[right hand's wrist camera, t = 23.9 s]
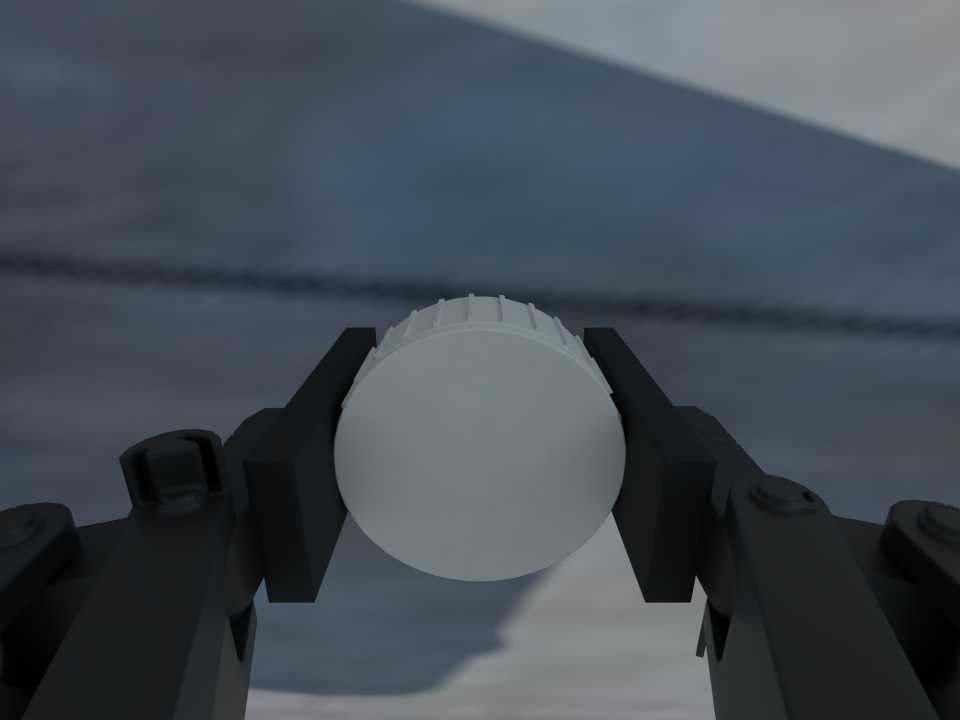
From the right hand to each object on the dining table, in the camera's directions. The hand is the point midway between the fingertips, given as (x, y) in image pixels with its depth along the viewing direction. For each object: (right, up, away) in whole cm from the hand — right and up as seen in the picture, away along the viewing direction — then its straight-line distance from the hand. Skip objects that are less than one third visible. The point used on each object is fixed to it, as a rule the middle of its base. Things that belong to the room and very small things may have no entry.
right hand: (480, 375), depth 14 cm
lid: (0, -1, -4) cm, 4 cm away
